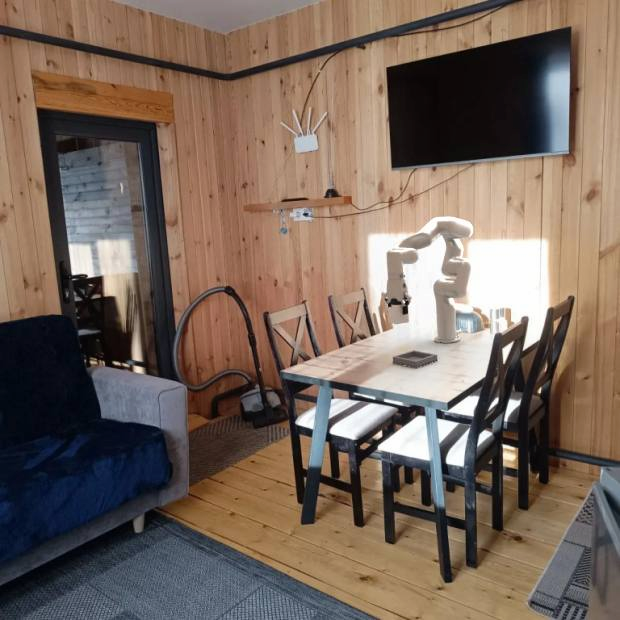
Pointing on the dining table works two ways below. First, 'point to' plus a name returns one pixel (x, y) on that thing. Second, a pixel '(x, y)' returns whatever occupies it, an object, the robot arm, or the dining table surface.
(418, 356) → the tray
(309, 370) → the dining table surface
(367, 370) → the dining table surface
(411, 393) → the dining table surface
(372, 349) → the dining table surface
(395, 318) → the medicine bottle
